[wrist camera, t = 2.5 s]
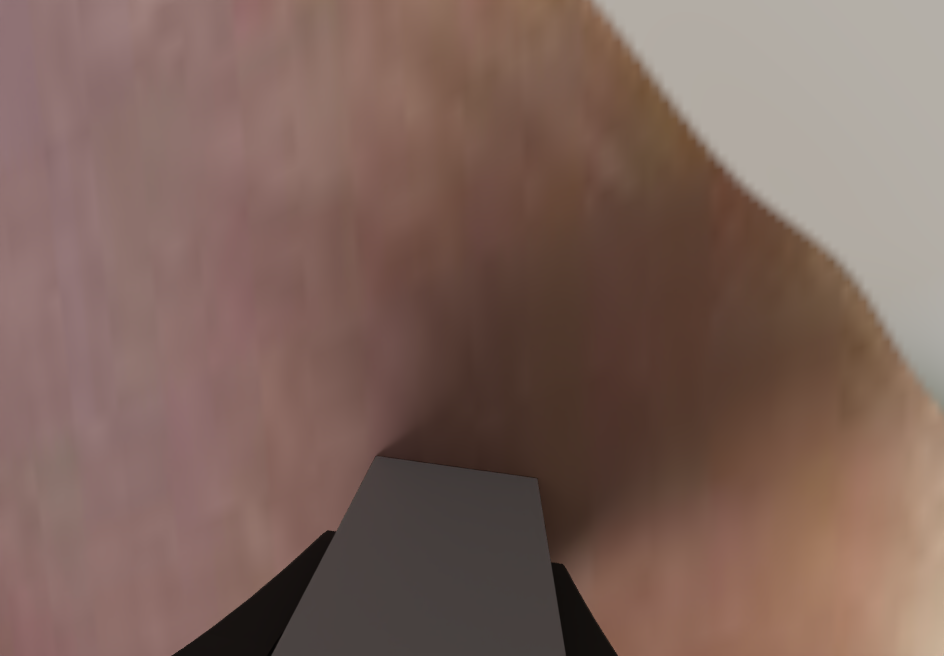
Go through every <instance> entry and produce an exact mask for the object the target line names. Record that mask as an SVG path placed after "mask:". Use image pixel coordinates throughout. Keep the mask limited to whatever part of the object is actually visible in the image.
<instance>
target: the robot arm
mask: <svg viewBox="0 0 944 656" xmlns="http://www.w3.org/2000/svg"><path fill="white" fill-rule="evenodd" d="M335 533H336V532H335V531H328V530H327V531H326V532H325V533H323V534H322V535H321V536H320V537H319V538H318V539H317V540H315V541H314V542H313V543H312V544H311V545H310V546H309V547H308V548H307V549H306V550H305V551H304V552H302V553H301V554H300V555H299V556H298V557H297V558H296V559H295V560H294V561H293V562H291V563H290V564H289V565H288V566H287V567H286V568H285V569H284V570H282V571H281V572H280V573H279V574H278V575H277V576H275V577H274V578H273V579H272V580H271V581H270V582H268V583H267V584H266V585H265V586H264V587H262V588H261V589H260V590H259V591H258V592H257V593H255V594H254V595H253V596H252V597H251V598H249V599H248V600H247V601H246V602H244V603H243V604H242V605H240V606H239V607H238V608H237V609H235V610H234V611H233V612H231V613H230V614H229V615H227V616H226V617H225V618H224V619H222V620H221V621H220V622H218V623H217V624H216V625H215V626H213V627H212V628H211V629H209V630H208V631H206V632H205V633H204V634H202V635H201V636H200V637H198V638H197V639H195V640H194V641H193V642H191V643H190V644H188V645H187V646H185V647H184V648H182V649H181V650H179V651H178V652H177V653H175V654H174V655H172V656H271V655H272V654H273V652H274V650H275V648H276V646H277V644H278V642H279V640H280V638H281V636H282V634H283V633H284V631H285V629H286V627H287V625H288V623H289V621H290V619H291V617H292V615H293V613H294V611H295V610H296V608H297V606H298V604H299V602H300V600H301V598H302V596H303V594H304V592H305V590H306V589H307V587H308V585H309V583H310V581H311V579H312V577H313V575H314V573H315V571H316V569H317V568H318V566H319V564H320V562H321V560H322V558H323V556H324V554H325V552H326V550H327V548H328V546H329V545H330V543H331V541H332V539H333V537H334V535H335ZM551 567H552V573H553V579H554V585H555V591H556V598H557V604H558V610H559V616H560V622H561V629H562V635H563V641H564V647H565V653H566V656H618V655H617V654H616V652H615V650H614V649H613V647H612V646H611V644H610V643H609V641H608V639H607V638H606V636H605V635H604V633H603V632H602V630H601V628H600V627H599V625H598V624H597V622H596V620H595V619H594V617H593V615H592V614H591V612H590V610H589V608H588V607H587V605H586V603H585V602H584V600H583V598H582V596H581V595H580V593H579V591H578V589H577V587H576V586H575V584H574V582H573V580H572V578H571V577H570V575H569V573H568V571H567V569H566V568H565V566H564V565H563V564H559V563H552V562H551Z"/></svg>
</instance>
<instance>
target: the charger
mask: <svg viewBox="0 0 944 656" xmlns="http://www.w3.org/2000/svg"><path fill="white" fill-rule="evenodd" d="M271 656H566V653H565V647H564V641H563V635H562V629H561V622H560V616H559V610H558V604H557V598H556V591H555V585H554V579H553V573H552V567H551V560H550V554H549V548H548V542H547V535H546V529H545V523H544V517H543V511H542V504H541V498H540V492H539V486H538V480H537V478H531V477H524V476H517V475H509V474H502V473H495V472H488V471H481V470H473V469H466V468H459V467H452V466H445V465H437V464H430V463H423V462H416V461H409V460H402V459H394V458H387V457H380V456H376V457H375V459H374V460H373V462H372V464H371V466H370V468H369V470H368V472H367V474H366V476H365V478H364V480H363V481H362V483H361V485H360V487H359V489H358V491H357V493H356V495H355V497H354V499H353V501H352V502H351V504H350V506H349V508H348V510H347V512H346V514H345V516H344V518H343V520H342V522H341V524H340V525H339V527H338V529H337V531H336V533H335V535H334V537H333V539H332V541H331V543H330V545H329V546H328V548H327V550H326V552H325V554H324V556H323V558H322V560H321V562H320V564H319V566H318V568H317V569H316V571H315V573H314V575H313V577H312V579H311V581H310V583H309V585H308V587H307V589H306V590H305V592H304V594H303V596H302V598H301V600H300V602H299V604H298V606H297V608H296V610H295V611H294V613H293V615H292V617H291V619H290V621H289V623H288V625H287V627H286V629H285V631H284V633H283V634H282V636H281V638H280V640H279V642H278V644H277V646H276V648H275V650H274V652H273V654H272V655H271Z"/></svg>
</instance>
